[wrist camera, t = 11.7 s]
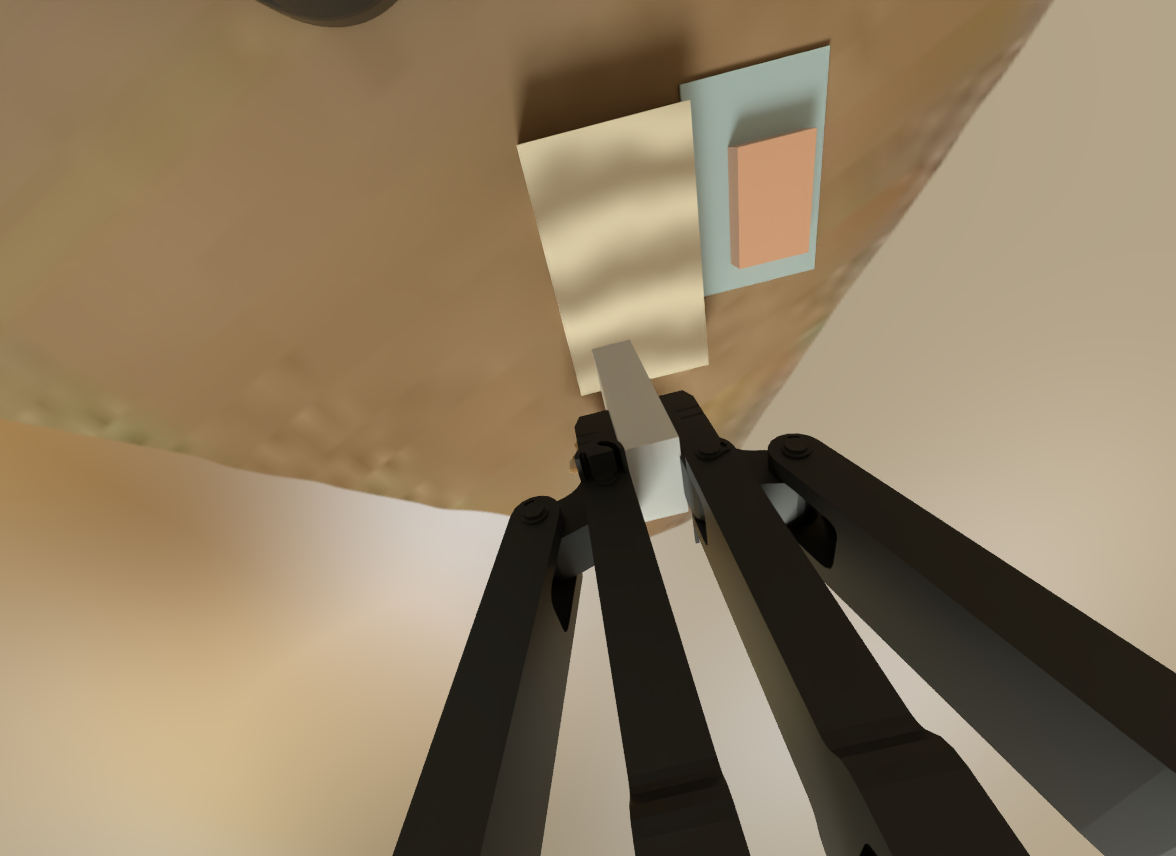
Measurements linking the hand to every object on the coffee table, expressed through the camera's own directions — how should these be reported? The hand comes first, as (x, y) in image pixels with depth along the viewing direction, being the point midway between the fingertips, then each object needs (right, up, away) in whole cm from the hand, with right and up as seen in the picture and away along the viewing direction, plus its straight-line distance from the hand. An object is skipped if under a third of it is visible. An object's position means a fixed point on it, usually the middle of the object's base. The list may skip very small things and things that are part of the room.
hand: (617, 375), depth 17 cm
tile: (+14, +16, +18) cm, 28 cm away
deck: (+2, +13, +21) cm, 25 cm away
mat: (+13, +18, +19) cm, 29 cm away
